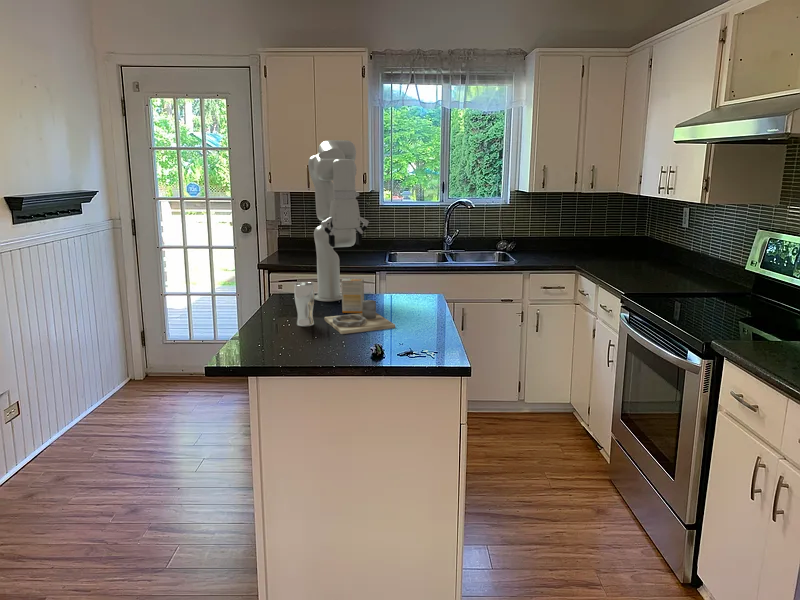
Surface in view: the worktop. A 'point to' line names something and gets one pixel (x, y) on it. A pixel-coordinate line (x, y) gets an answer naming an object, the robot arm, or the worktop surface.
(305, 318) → the beer glass
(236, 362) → the worktop surface
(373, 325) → the carrier board
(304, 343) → the worktop surface
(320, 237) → the robot arm
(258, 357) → the worktop surface
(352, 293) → the supplement box
